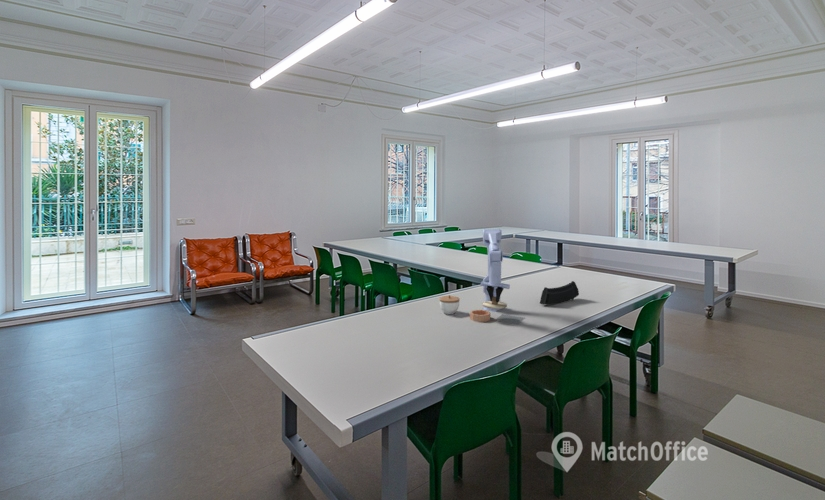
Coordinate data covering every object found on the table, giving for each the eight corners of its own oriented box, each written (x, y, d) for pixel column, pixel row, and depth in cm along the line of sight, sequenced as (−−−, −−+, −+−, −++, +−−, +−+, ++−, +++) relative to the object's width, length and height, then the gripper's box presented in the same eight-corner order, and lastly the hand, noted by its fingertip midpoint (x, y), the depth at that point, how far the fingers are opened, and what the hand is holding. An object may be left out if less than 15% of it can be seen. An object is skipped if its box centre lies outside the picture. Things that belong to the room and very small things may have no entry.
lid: (488, 301, 223) (488, 293, 222) (510, 304, 217) (510, 296, 216) (478, 306, 213) (479, 298, 212) (502, 309, 207) (502, 301, 206)
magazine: (541, 291, 236) (575, 270, 250) (536, 290, 239) (571, 270, 253) (546, 319, 241) (579, 297, 255) (542, 317, 244) (575, 295, 258)
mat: (502, 315, 223) (502, 314, 223) (525, 318, 217) (525, 317, 217) (493, 320, 213) (493, 320, 213) (517, 324, 207) (517, 324, 207)
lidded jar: (463, 313, 228) (463, 295, 226) (447, 316, 222) (447, 298, 220) (450, 308, 236) (450, 292, 235) (435, 311, 230) (435, 294, 229)
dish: (475, 315, 223) (475, 308, 223) (493, 318, 218) (493, 311, 217) (466, 320, 215) (466, 313, 214) (485, 323, 209) (485, 316, 209)
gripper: (478, 274, 213) (478, 301, 215) (506, 277, 205) (505, 305, 207) (483, 272, 219) (483, 298, 221) (511, 275, 211) (510, 301, 213)
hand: (494, 301), depth 214 cm, fingers closed on lid, 2 cm apart
